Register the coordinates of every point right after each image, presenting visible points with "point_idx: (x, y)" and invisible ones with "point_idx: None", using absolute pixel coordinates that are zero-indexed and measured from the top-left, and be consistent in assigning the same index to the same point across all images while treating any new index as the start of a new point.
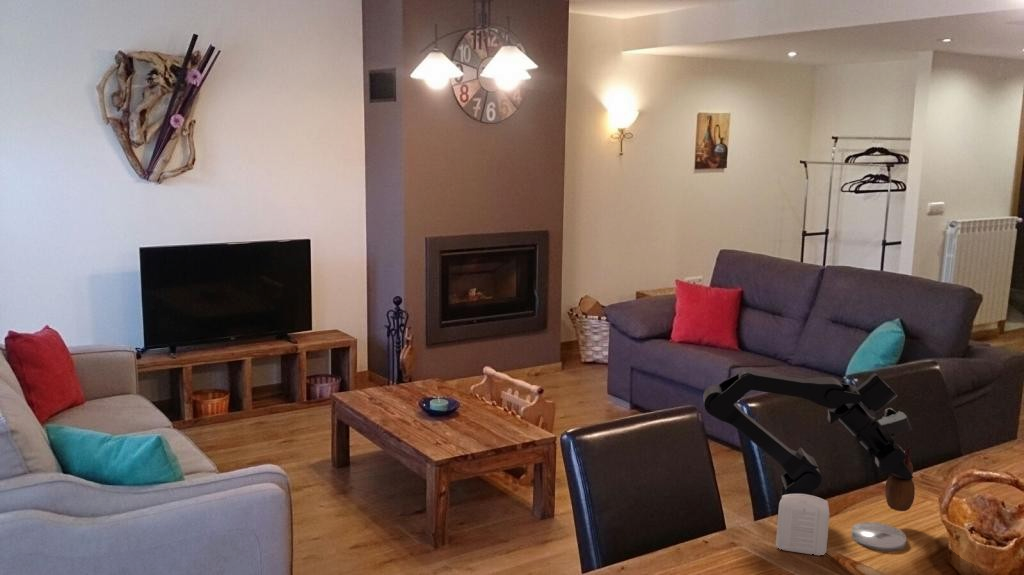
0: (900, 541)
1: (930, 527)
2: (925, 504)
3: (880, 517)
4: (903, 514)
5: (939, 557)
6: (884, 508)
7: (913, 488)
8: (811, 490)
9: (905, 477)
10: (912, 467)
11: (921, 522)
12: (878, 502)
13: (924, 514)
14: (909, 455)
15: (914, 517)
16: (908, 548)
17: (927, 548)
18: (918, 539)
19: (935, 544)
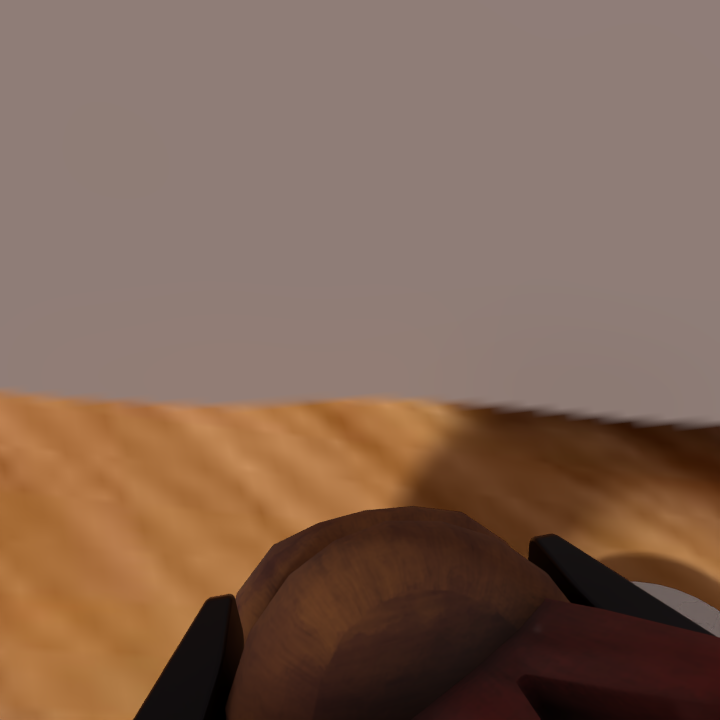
0: (715, 622)
1: (336, 425)
2: (2, 413)
3: None
4: (187, 556)
5: (687, 427)
6: (111, 676)
7: (475, 523)
8: None
9: None
10: (477, 535)
11: (281, 464)
12: (5, 716)
13: (159, 435)
14: (681, 642)
15: (218, 495)
16: (664, 569)
17: (613, 471)
18: (521, 504)
19: (545, 427)
